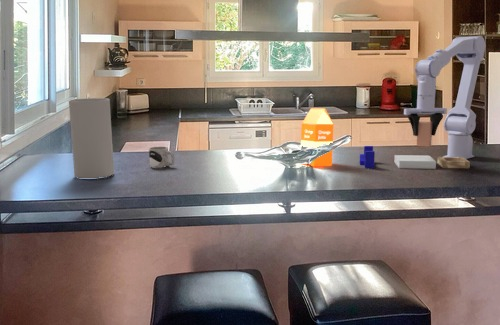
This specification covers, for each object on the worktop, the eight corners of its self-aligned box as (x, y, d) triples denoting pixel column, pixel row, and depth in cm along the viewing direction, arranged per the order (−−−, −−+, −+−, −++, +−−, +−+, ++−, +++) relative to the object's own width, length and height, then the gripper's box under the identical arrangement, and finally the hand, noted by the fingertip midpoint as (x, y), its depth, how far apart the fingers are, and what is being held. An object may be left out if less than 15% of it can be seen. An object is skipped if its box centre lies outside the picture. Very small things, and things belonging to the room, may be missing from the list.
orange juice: (313, 166, 184) (316, 108, 182) (299, 163, 192) (301, 107, 190) (332, 165, 188) (334, 108, 186) (317, 163, 196) (319, 108, 194)
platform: (428, 162, 192) (429, 155, 191) (435, 168, 181) (436, 161, 180) (394, 162, 193) (394, 155, 193) (399, 168, 182) (399, 161, 182)
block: (431, 144, 186) (432, 121, 184) (428, 146, 182) (429, 123, 181) (419, 144, 188) (420, 121, 186) (416, 145, 184) (417, 122, 183)
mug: (145, 167, 189) (145, 148, 188) (157, 164, 195) (156, 146, 194) (169, 169, 185) (168, 150, 184) (180, 166, 191) (179, 147, 189)
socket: (462, 163, 189) (462, 157, 189) (469, 168, 181) (469, 161, 180) (437, 163, 190) (437, 156, 190) (443, 167, 182) (443, 161, 181)
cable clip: (359, 162, 195) (360, 145, 194) (372, 162, 194) (372, 146, 193) (360, 168, 183) (361, 151, 182) (374, 169, 182) (374, 151, 181)
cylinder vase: (72, 174, 179) (67, 99, 175) (111, 170, 184) (106, 97, 179) (76, 182, 168) (70, 101, 163) (117, 178, 173) (112, 100, 168)
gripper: (440, 94, 187) (438, 133, 189) (400, 95, 185) (399, 134, 187) (450, 95, 180) (448, 136, 182) (409, 96, 178) (407, 137, 181)
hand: (424, 135), depth 185 cm, fingers closed on block, 6 cm apart
